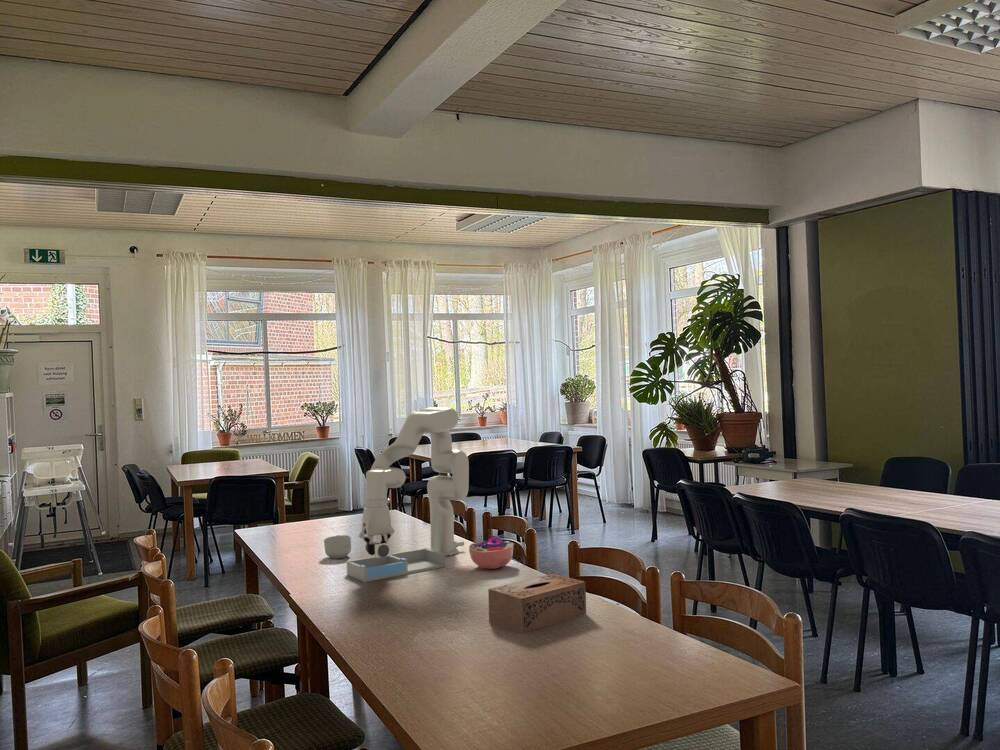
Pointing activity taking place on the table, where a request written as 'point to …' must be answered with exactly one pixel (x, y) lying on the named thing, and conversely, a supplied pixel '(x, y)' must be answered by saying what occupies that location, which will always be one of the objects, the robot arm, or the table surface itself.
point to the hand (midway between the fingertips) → (377, 553)
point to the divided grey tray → (395, 564)
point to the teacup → (337, 546)
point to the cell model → (491, 553)
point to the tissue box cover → (537, 602)
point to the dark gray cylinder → (380, 549)
